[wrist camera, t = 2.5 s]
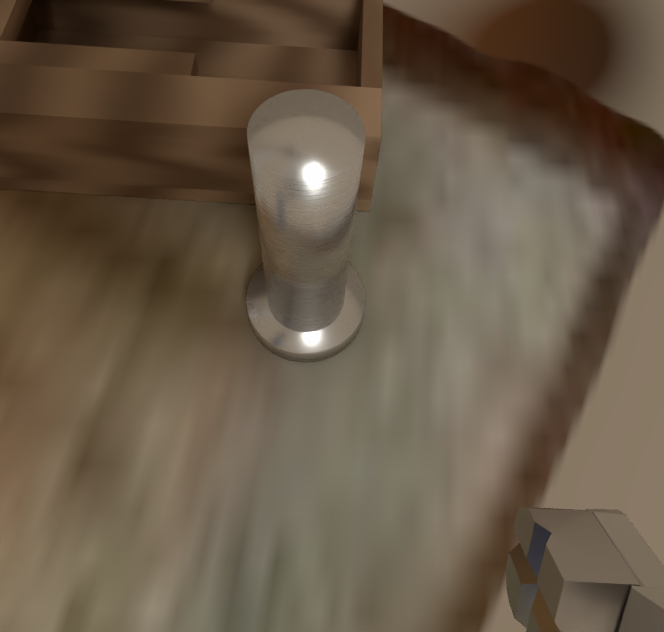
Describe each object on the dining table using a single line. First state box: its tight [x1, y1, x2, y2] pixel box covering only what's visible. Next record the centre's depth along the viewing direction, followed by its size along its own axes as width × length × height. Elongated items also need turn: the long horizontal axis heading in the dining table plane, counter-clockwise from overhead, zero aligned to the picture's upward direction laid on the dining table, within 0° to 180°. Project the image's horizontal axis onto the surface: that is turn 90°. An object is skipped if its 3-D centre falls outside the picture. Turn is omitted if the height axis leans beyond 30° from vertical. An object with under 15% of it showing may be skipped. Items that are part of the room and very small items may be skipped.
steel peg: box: [246, 89, 366, 362], centre depth 23 cm, size 6×6×12 cm
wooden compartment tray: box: [0, 0, 383, 212], centre depth 31 cm, size 22×14×6 cm, turn 87°
